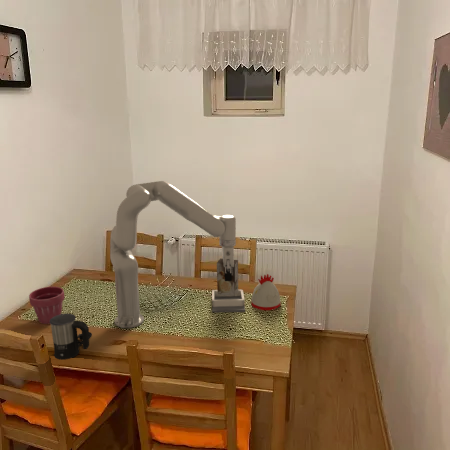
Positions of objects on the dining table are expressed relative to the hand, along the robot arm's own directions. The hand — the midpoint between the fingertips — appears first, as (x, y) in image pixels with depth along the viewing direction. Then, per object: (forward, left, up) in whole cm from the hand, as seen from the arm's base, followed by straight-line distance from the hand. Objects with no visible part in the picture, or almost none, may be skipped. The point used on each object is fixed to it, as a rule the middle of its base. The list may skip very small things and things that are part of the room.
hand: (227, 277), depth 210 cm
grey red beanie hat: (-2, -18, -13) cm, 23 cm away
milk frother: (-38, +62, -13) cm, 74 cm away
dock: (0, 0, -13) cm, 13 cm away
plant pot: (-13, +80, -13) cm, 82 cm away
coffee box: (0, 0, -8) cm, 8 cm away
